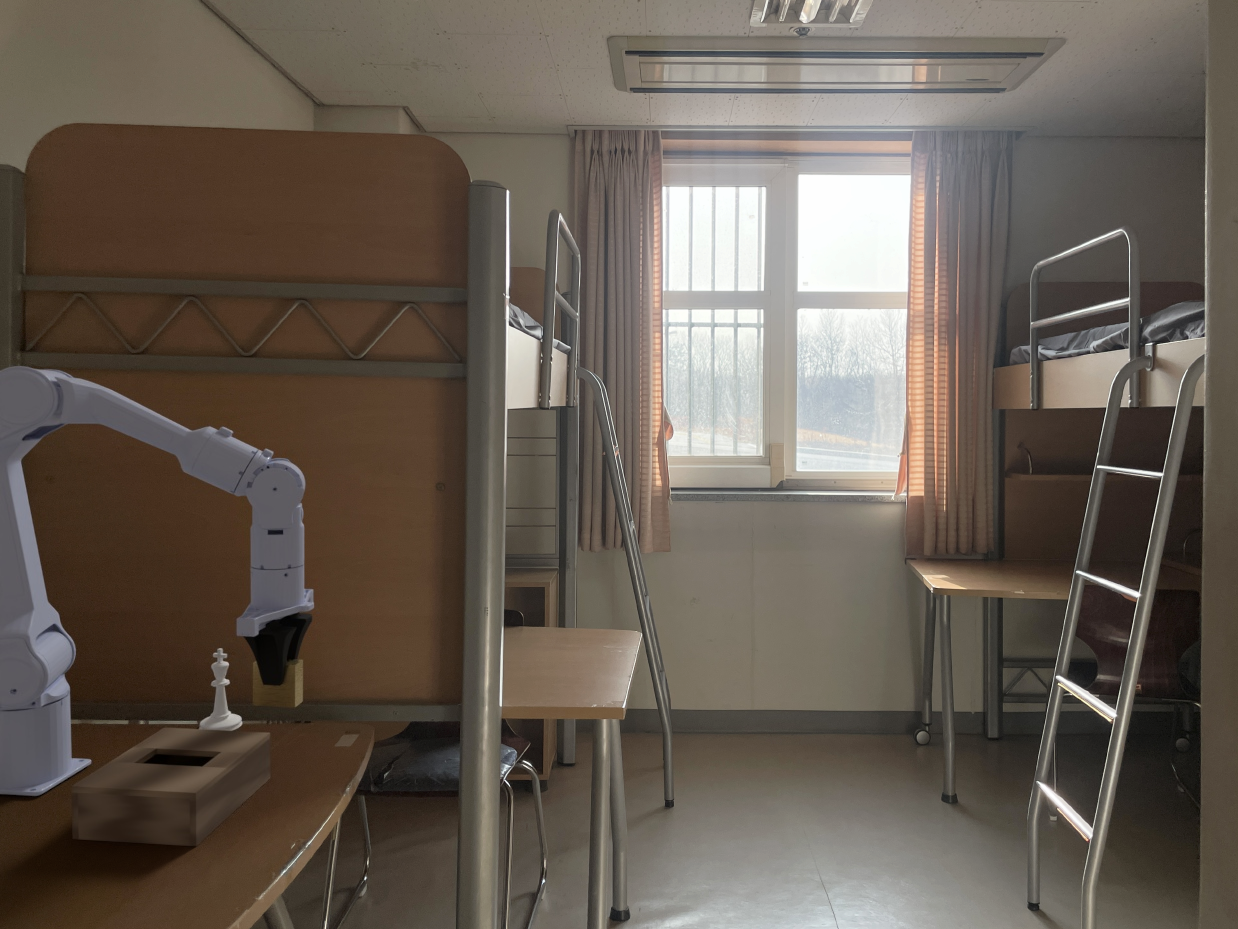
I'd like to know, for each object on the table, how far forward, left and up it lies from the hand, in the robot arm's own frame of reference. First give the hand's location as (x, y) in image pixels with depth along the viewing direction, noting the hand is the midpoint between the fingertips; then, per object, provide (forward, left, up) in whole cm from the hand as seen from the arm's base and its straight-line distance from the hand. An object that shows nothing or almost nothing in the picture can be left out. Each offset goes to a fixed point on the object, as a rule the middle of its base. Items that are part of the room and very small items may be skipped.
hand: (278, 680), depth 95 cm
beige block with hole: (-4, -13, -9) cm, 16 cm away
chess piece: (-11, +7, -9) cm, 16 cm away
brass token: (0, 0, -3) cm, 3 cm away
